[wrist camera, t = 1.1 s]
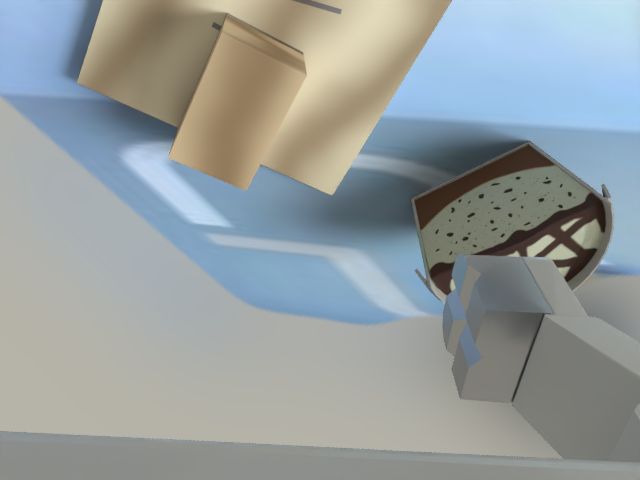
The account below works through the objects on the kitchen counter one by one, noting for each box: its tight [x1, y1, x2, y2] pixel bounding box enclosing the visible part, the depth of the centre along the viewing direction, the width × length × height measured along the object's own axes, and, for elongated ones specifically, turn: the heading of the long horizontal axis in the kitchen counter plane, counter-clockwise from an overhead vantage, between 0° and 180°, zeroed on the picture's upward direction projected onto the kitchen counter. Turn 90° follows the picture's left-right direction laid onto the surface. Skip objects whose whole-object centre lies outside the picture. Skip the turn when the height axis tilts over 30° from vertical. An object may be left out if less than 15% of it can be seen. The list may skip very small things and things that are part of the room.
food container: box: [411, 141, 614, 303], centre depth 39 cm, size 12×6×10 cm, turn 118°
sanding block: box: [168, 13, 307, 191], centre depth 34 cm, size 5×8×4 cm, turn 151°
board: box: [77, 0, 452, 195], centre depth 34 cm, size 18×18×1 cm
